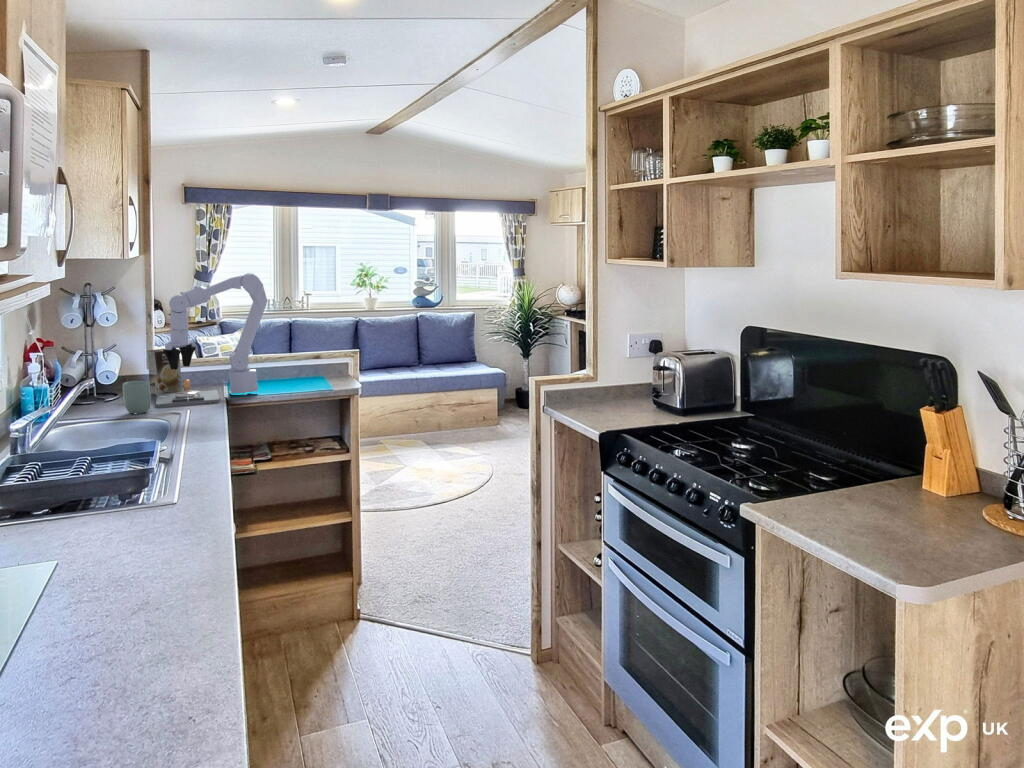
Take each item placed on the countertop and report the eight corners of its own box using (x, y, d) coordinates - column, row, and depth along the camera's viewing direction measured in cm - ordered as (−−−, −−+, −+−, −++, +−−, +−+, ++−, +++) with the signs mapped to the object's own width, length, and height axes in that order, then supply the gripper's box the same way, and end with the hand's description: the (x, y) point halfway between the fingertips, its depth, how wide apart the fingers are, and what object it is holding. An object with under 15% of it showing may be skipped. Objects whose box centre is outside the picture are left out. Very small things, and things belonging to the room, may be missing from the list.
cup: (144, 415, 236) (141, 385, 234) (120, 415, 236) (117, 385, 234) (156, 410, 243) (153, 380, 242) (133, 410, 244) (130, 380, 242)
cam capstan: (200, 397, 257) (199, 384, 256) (175, 399, 254) (174, 386, 253) (199, 391, 268) (198, 378, 267) (175, 392, 264) (174, 380, 264)
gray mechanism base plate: (217, 393, 271) (216, 385, 271) (220, 402, 255) (219, 394, 255) (157, 397, 263) (156, 389, 263) (156, 407, 247) (155, 399, 247)
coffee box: (159, 395, 267) (155, 351, 264) (150, 393, 271) (145, 350, 268) (183, 391, 274) (179, 348, 271) (173, 389, 278) (170, 347, 275)
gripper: (180, 327, 266) (181, 364, 268) (156, 330, 252) (157, 369, 254) (198, 328, 265) (199, 365, 268) (175, 331, 251) (176, 371, 253)
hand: (180, 367), depth 261 cm, fingers open, 7 cm apart
